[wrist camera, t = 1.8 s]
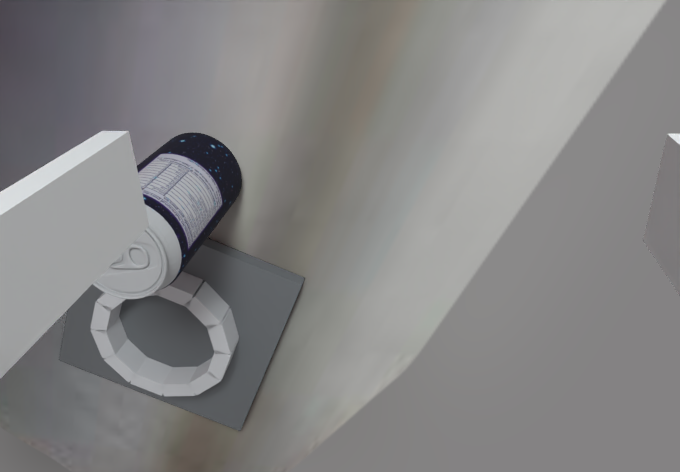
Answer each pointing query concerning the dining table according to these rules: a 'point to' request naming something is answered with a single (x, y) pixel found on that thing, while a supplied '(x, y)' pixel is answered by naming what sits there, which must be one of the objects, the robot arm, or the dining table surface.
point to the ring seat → (189, 333)
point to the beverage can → (174, 213)
